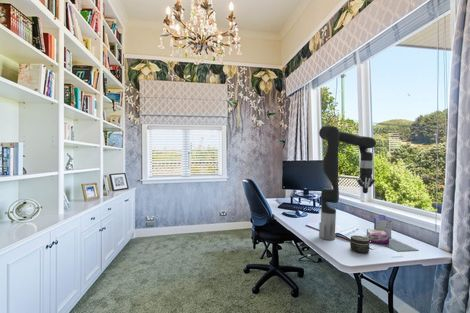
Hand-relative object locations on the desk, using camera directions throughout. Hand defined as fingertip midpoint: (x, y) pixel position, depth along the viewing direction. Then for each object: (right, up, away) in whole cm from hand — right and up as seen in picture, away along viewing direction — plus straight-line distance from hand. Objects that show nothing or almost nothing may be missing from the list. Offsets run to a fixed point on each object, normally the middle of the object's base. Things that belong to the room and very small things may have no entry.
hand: (365, 193), depth 157 cm
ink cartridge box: (+16, -32, +8) cm, 37 cm away
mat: (+14, -32, -10) cm, 36 cm away
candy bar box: (+4, -28, -9) cm, 30 cm away
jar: (-15, -31, -21) cm, 40 cm away
